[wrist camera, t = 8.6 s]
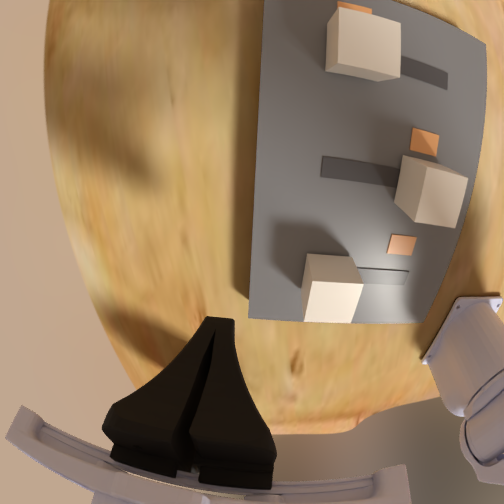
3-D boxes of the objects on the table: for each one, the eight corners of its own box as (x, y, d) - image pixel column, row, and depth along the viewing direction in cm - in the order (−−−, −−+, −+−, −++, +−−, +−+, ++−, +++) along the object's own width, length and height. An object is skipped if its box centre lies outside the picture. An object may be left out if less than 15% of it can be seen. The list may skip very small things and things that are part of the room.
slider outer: (377, 81, 12) (399, 77, 9) (325, 71, 12) (337, 63, 9) (379, 35, 10) (400, 23, 8) (327, 23, 11) (338, 6, 8)
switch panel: (415, 308, 22) (423, 323, 20) (250, 301, 22) (248, 319, 21) (470, 46, 10) (486, 44, 9) (266, -10, 11) (265, -23, 9)
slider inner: (342, 293, 19) (350, 323, 16) (300, 291, 19) (303, 321, 16) (352, 256, 17) (363, 283, 15) (307, 253, 17) (312, 281, 15)
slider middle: (431, 208, 15) (455, 228, 12) (393, 202, 15) (414, 222, 13) (441, 164, 14) (468, 178, 11) (402, 155, 14) (427, 166, 11)
